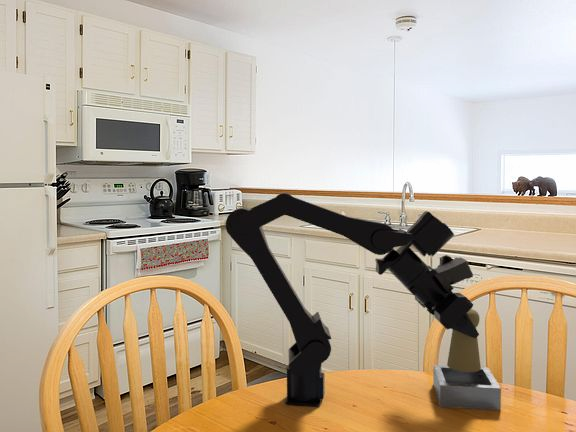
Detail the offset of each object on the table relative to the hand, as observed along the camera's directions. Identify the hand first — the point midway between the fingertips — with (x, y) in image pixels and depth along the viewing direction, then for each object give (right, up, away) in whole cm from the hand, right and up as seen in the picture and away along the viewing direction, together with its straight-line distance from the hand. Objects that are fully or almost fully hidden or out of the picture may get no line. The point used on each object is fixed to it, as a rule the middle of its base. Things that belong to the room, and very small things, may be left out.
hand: (471, 332), depth 97 cm
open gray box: (-1, -12, +1) cm, 12 cm away
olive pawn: (-1, -7, 0) cm, 7 cm away
